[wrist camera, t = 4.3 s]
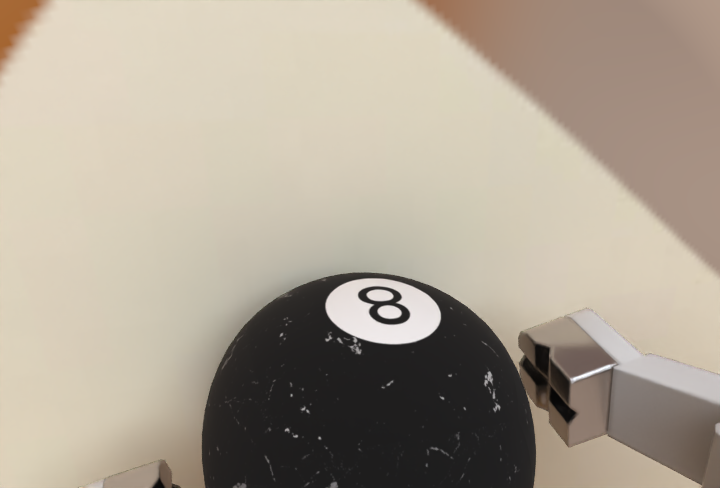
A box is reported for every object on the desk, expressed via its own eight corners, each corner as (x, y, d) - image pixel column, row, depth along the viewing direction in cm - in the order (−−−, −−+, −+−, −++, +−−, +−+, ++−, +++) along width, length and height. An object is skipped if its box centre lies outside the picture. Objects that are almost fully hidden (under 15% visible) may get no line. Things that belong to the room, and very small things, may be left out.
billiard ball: (199, 451, 14) (218, 751, 9) (188, 229, 11) (209, 480, 6) (427, 416, 16) (551, 649, 11) (467, 217, 13) (661, 405, 8)
